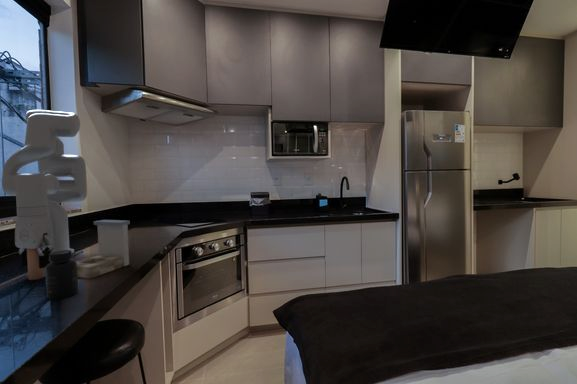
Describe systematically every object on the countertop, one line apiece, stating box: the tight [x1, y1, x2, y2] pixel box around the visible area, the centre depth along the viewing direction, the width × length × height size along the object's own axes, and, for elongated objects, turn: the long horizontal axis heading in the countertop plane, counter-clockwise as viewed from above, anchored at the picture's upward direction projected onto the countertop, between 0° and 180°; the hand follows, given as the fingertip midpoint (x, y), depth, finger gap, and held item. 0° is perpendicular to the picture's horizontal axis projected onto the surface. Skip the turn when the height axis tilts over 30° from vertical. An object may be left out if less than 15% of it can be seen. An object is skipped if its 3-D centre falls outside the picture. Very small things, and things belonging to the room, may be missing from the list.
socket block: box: [75, 254, 123, 279], centre depth 98 cm, size 12×12×4 cm
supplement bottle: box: [45, 250, 80, 301], centre depth 77 cm, size 7×7×12 cm
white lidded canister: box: [93, 219, 131, 267], centre depth 105 cm, size 12×4×16 cm, turn 74°
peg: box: [27, 245, 46, 281], centre depth 92 cm, size 4×4×12 cm
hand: (36, 265), depth 92 cm, fingers open, 7 cm apart
